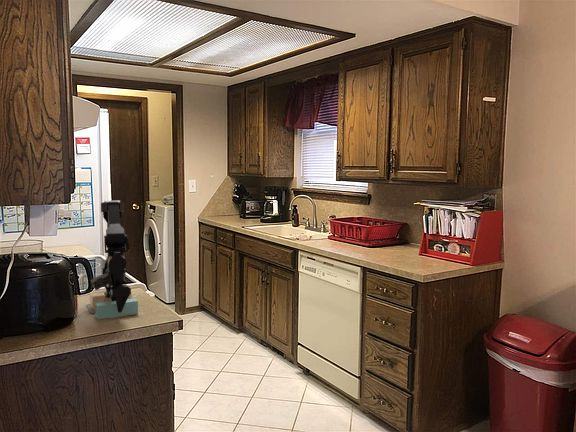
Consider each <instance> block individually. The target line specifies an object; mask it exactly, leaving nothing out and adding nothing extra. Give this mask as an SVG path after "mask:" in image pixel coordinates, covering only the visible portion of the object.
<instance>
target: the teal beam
mask: <svg viewBox="0 0 576 432" xmlns="http://www.w3.org/2000/svg"><path fill="white" fill-rule="evenodd" d="M95 308H96V314H95V317H96V319H97V320H103V319H110V318H116V317H117V318H119V317H125V316H132V315H139V300H137V299H136V298H135V297H134V298H131V299H127V301H126V303H125V305H124V308H123V310H122V312H120V313H118V310H117V305H116V301H112V300H110V301H104V302H101V303H95Z"/></svg>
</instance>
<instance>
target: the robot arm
mask: <svg viewBox="0 0 576 432" xmlns="http://www.w3.org/2000/svg"><path fill="white" fill-rule="evenodd" d="M124 207H125V206H124V202H123V201H121V200H103V202H101V203H100V213H102V217H103V219H104V221H105V222H106V229H105V235H103V244H104V253H105V254H107V255H106V256H107V257H106V258H105V260H104V261H103V267H102V268H101V273H102V274H100V275H98V276H95V277H93V278H91V279H92V280H91V279H90V283H91V285H92V288H93V289H94V291H99V290H100V289H102V287H103V288H104V289H105V292H104V293H103V295H104V297H106V298H110V299H111V300H110V301H116V305H117V310H118V313H120V312H122V310H123V308H124V305H125V303H126V301H127V299H128V297H129V296H130V294H131V295H132V288H131V287H130V286H128V285H127V281H126V274H127V273H126V272H127V269H126V267H127V261H126V258H125V257H126V256H125V253H128V252H129V250H130V241H129V239H130V238H129V237H128V235H127V234H126V233H125V228H124V227H123V226H122V225H121V219H122V216H123V215H122V213H123V212H124V211H125V210H124Z"/></svg>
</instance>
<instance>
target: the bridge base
mask: <svg viewBox="0 0 576 432" xmlns="http://www.w3.org/2000/svg"><path fill="white" fill-rule="evenodd" d="M89 294H90V303H86V307H87V309H88V311H89V313H90V314H91V315H94V314H95V315H96V308H95V303H101V302H105V294H104V293H103V292H102V291H101V292H100V291H99V292H91V293H89ZM128 299H132V293H131V294H130V296H129V297H128Z"/></svg>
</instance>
